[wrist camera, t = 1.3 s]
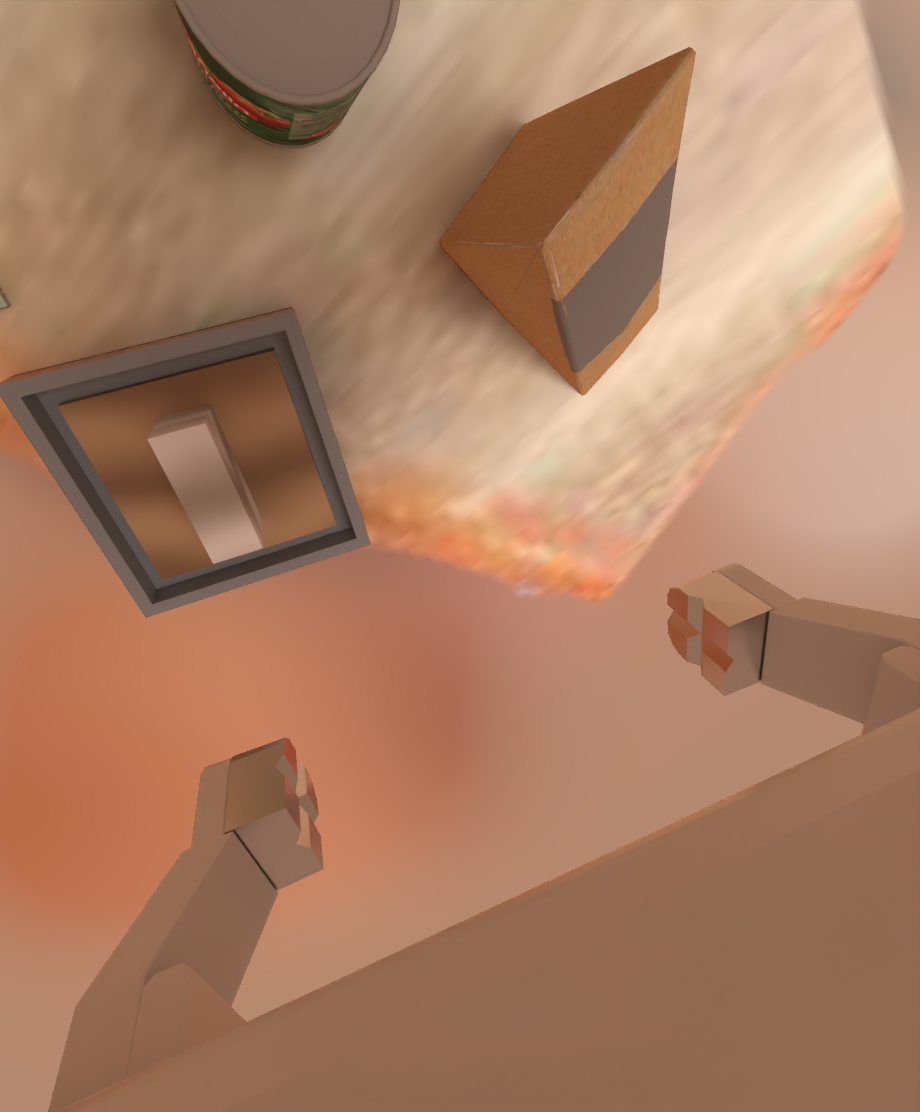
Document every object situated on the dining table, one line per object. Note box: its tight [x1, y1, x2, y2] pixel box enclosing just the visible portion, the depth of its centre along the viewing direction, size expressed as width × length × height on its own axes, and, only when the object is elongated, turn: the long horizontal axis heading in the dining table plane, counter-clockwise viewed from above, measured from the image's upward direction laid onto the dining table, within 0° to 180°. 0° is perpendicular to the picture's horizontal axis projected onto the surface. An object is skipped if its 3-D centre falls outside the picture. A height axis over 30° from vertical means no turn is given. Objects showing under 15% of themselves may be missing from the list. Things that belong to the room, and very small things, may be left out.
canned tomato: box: [174, 0, 400, 148], centre depth 22 cm, size 8×8×11 cm
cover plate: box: [57, 348, 337, 580], centre depth 33 cm, size 12×12×5 cm
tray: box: [0, 307, 370, 617], centre depth 34 cm, size 16×16×2 cm
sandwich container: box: [440, 47, 696, 395], centre depth 30 cm, size 9×15×15 cm, turn 50°
